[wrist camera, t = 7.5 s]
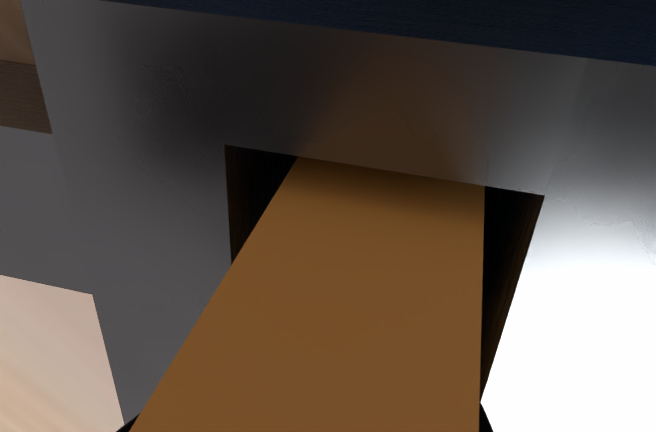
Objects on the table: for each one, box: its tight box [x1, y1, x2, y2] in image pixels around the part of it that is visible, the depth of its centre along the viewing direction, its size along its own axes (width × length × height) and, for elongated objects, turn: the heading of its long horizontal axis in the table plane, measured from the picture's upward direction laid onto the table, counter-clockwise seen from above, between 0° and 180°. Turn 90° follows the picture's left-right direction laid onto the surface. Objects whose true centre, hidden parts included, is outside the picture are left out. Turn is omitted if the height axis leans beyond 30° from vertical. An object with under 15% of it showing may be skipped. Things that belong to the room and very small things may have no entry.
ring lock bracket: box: [0, 0, 656, 432], centre depth 10 cm, size 28×11×6 cm, turn 87°
